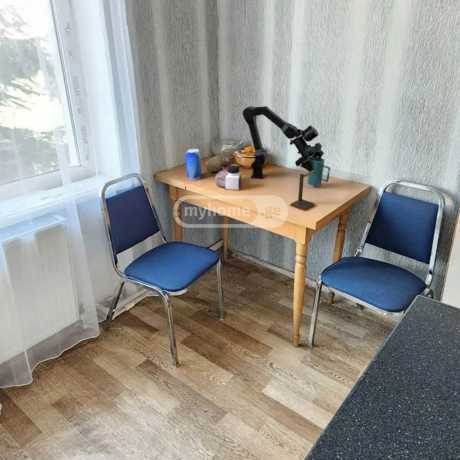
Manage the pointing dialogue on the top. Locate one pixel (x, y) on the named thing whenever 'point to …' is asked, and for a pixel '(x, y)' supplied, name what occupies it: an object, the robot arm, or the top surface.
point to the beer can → (193, 164)
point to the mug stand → (300, 202)
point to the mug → (317, 171)
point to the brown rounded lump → (216, 163)
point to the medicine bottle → (233, 178)
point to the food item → (222, 177)
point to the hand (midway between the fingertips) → (318, 171)
